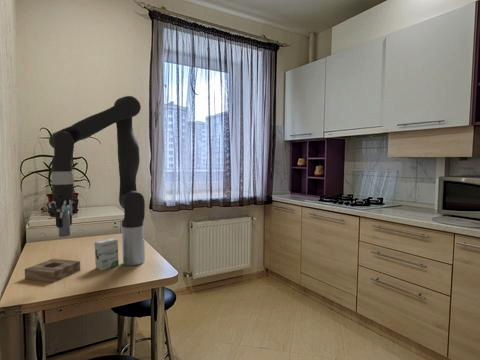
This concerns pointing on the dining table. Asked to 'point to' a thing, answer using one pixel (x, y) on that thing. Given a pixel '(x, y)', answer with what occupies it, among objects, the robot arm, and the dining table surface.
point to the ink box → (106, 254)
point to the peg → (65, 222)
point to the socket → (52, 270)
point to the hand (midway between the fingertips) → (64, 226)
